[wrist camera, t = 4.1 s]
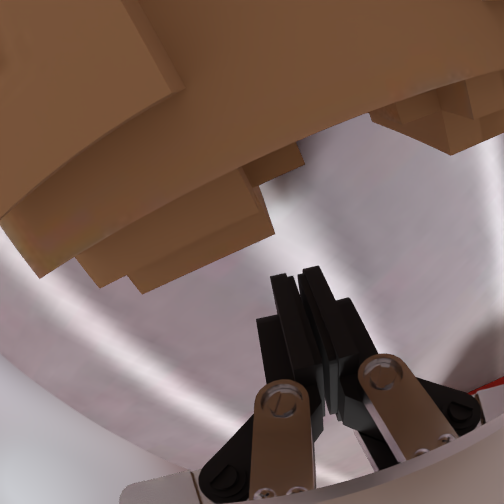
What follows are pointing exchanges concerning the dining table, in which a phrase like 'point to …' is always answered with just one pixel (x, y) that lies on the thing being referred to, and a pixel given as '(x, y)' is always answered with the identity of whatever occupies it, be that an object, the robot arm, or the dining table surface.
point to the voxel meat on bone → (212, 114)
